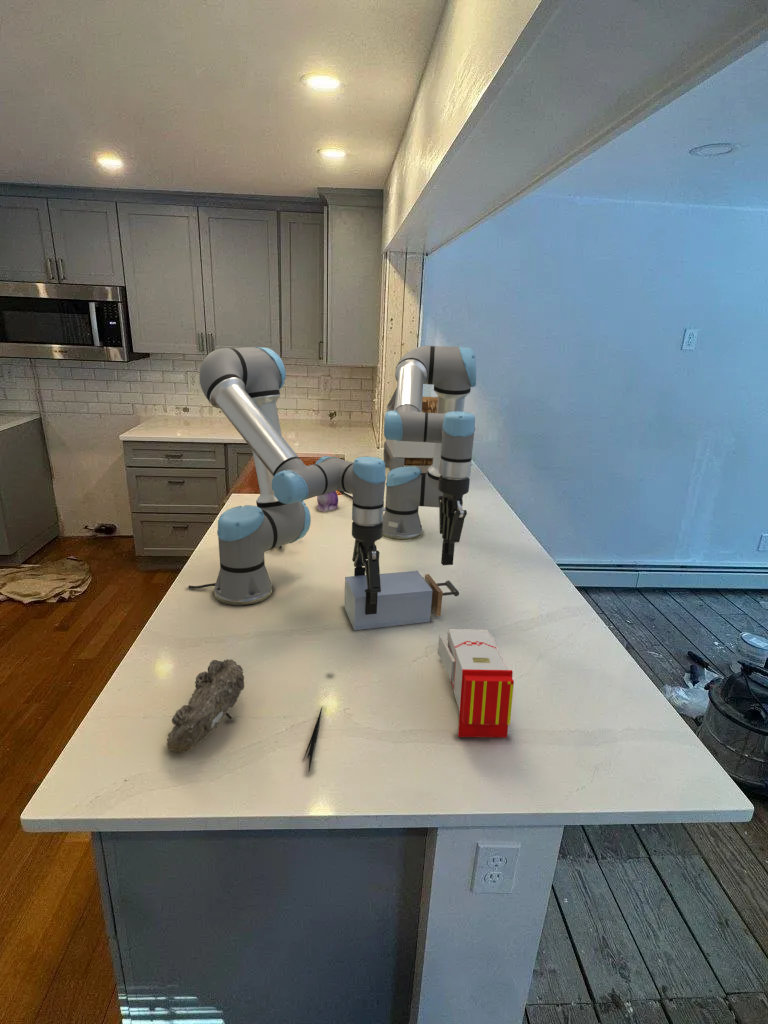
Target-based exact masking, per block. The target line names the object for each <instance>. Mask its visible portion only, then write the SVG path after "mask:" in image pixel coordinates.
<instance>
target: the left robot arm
mask: <svg viewBox="0 0 768 1024" xmlns="http://www.w3.org/2000/svg"><path fill="white" fill-rule="evenodd" d="M198 373H199V376H198V377H199V378H198V379H199V385H200V388H201V390H202V393H203V395H204V397H205V398H206V399H207V401H208V402H209V404H210V405H212V407H214V408H215V409H220V411H221V412H222V413H223V415H224V416H225V417H226V418H227V420H228V421H229V422H230V423H231V425H232V426H233V427H234V429H235V430H236V431H237V433H239V435H240V436H241V438H242V439H243V440H244V441H245V442H246V444H247V445H248V446H249V448H250V449H251V451H252V457H253V462H254V467H255V473H256V478H257V484H258V489H259V493H260V494H259V496H258V497H257V499H256V500H255V503H256V505H251V504H250V505H249V504H248V505H247V504H246V505H244V506H242V505H238V506H234V507H231V508H229V509H226V510H225V511H224V512H222V513H221V514H220V516H219V517H218V520H217V531H216V533H217V538H218V540H217V541H218V555H219V571H218V574H217V578H216V581H215V583H213V582H212V583H206V584H200V585H188V586H187V588H188V589H195V590H196V589H197V590H198V589H203V588H210V587H214V589H213V591H214V598H215V599H216V600H217V601H219V602H221V603H222V604H225V605H230V606H237V607H239V606H249V605H254V604H259V603H261V602H263V601H265V600H266V599H268V598H269V597H271V595H272V593H273V582H272V579H271V578H270V574H269V572H268V570H267V567H266V562H265V561H266V560H265V553H267V552H269V551H271V550H274V549H277V548H279V547H280V546H282V547H283V546H286V545H288V544H293V543H295V542H297V541H298V540H300V539H303V538H304V537H305V536H306V535H307V533H308V532H309V530H310V527H311V523H312V522H311V512H310V510H309V509H310V508H309V507H308V506H307V504H306V502H305V501H306V500H309V499H312V498H315V497H317V496H319V495H323V494H327V493H330V492H334V491H336V492H339V491H343V492H344V493H346V494H348V495H352V497H353V499H352V503H351V520H352V522H351V536H352V538H354V539H355V540H354V546H353V552H352V562H353V566H354V568H353V569H354V570H353V576H362V575H366V581H367V589H366V590H365V592H366V606H365V614H366V615H369V614H377V595H378V592H381V586H380V574H381V571H380V551H379V550H378V548H377V545H376V542H378V541H379V540H381V539H382V538H383V537H384V536H383V523H382V521H383V515H384V512H385V510H386V509H385V507H384V506H385V491H386V490H385V489H386V481H387V475H386V466H385V463H384V459H382V458H379V457H376V456H367V455H366V456H359V457H356V458H355V459H354V460H353V461H349V460H346V459H342V458H340V457H337V456H329V455H324V456H321V457H319V459H318V460H316V462H315V463H314V464H309V465H306V464H305V463H304V462H303V460H302V459H301V458H300V457H299V455H297V454H296V452H295V451H294V449H292V447H291V445H289V443H288V442H287V441H286V439H285V438H284V437H283V436H282V430H281V424H280V423H281V422H280V419H279V412H278V407H277V402H278V400H279V399H280V397H281V392H280V390H281V389H282V388H283V387H284V385H285V384H286V383H285V381H286V377H287V373H286V367H285V365H284V362H283V360H282V358H281V357H280V355H279V354H277V352H276V351H274V350H273V349H271V348H270V347H269V348H268V347H260V346H247V347H221V348H217V349H215V350H213V351H211V352H209V353H208V354H207V355H206V356H205V357H204V358H203V361H202V362H201V364H200V368H199V371H198Z"/></svg>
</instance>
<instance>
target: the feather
mask: <svg viewBox="0 0 768 1024" xmlns="http://www.w3.org/2000/svg"><path fill="white" fill-rule="evenodd" d="M329 675H330V676H331V675H332V674H331V673H330V674H329ZM322 710H323V707H321V708H320V710H319V713H318V716H317V719H316V723H315V725H314V728H313V731H312V733H311V737H310V739H309V742H308V745H307V748H306V751H305V754H304V757H303V760H302V763H301V767H302V765H303V763H304V761H305V758H308V759H309V760H308V762H307V763H308V764H307V766H308V771H310V770H311V766H312V765H311V764H312V760H313V757H315V756H314V755H315V751H316V749H315V746H317V739H318V733H319V729H320V722H321V717H322V712H323V711H322ZM313 754H314V755H313ZM306 755H307V757H306Z"/></svg>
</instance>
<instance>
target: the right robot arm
mask: <svg viewBox="0 0 768 1024" xmlns="http://www.w3.org/2000/svg"><path fill="white" fill-rule="evenodd" d="M476 360H477V359H476V353H475V351H474V350H473V348H471V347H464V346H448V345H447V346H445V345H444V346H443V345H421V346H418V347H415V348H412V349H411V350H410V351H407V353H405V354H404V355H403V356H402V357H401V358H400V359H399V361H398V362H397V364H396V367H395V372H394V378H395V381H396V388H397V390H396V389H395V390H396V398H395V405H394V411H388V412H387V411H386V412H385V413H384V423H383V436H384V439H385V438H386V439H388V440H396V441H412V442H429V443H434V453H433V464H432V465H430V466H427V472H422V469H421V468H420V467H419V466H418V467H417V466H407V465H406V466H404V467H399V468H395V469H393V470H391V471H390V470H389V471H388V473H387V475H386V481H385V489H386V490H385V503H384V506H385V507H384V508H385V509H386V510H385V511H384V512H383V521H382V523H383V536H382V537H385V538H387V539H389V540H395V541H410V540H415V539H418V538H420V537H421V536H422V535H423V525H422V524H421V518H420V515H419V507H425V508H438V509H439V510H438V511H439V512H438V515H439V516H438V517H439V519H438V521H439V534H440V535H441V539H442V546H441V547H442V548H441V560H440V564H441V565H442V566H452V565H454V557H455V547H456V546H455V545H456V543H460V541H461V535H462V532H463V527H464V523H465V519H466V517H467V514H468V511H467V510H466V509H463V503H464V501H463V497H464V495H466V494H468V493H469V491H470V481H471V479H470V476H471V469H472V466H473V463H472V458H473V449H474V441H475V439H474V438H475V432H476V416H475V414H474V413H471V412H467V411H464V410H465V401H466V397H467V396H468V395H469V394H470V393H471V391H472V388H475V387H477V362H476ZM424 385H433V392H434V393H435V394H436V395H437V397H438V402H437V413H422V397H423V393H424V392H423V391H424ZM338 493H340V494H342V495H344V496H345V497H348V498H349V499H351V500H353V495H351V494H349V493H346V492H343V491H338Z"/></svg>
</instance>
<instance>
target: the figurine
mask: <svg viewBox="0 0 768 1024" xmlns="http://www.w3.org/2000/svg"><path fill="white" fill-rule="evenodd" d="M316 502H317V506H316V508H317V511H319V512H331V511H335V510H336V509H338V506H339V496H338V493H337V491H334V492H330V493H327V494H323V495H319V496H316Z"/></svg>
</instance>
